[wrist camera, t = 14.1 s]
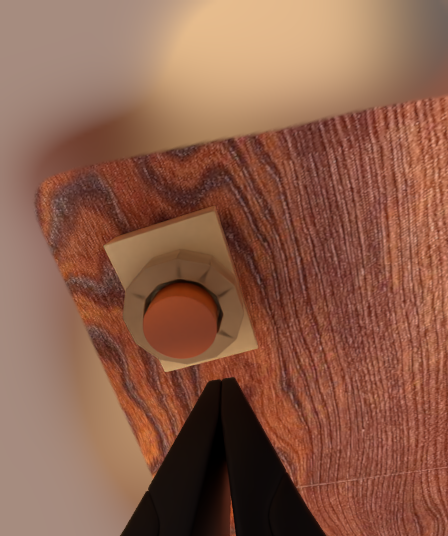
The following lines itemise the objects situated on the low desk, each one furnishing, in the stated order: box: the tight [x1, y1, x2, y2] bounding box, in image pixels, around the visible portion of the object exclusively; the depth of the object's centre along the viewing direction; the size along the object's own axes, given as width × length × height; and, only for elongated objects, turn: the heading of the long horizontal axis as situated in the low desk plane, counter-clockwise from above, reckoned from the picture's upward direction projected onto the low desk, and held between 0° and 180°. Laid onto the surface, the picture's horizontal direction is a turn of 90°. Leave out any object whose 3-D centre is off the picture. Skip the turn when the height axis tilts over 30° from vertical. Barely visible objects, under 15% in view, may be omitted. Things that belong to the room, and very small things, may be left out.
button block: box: [103, 205, 258, 372], centre depth 18 cm, size 10×7×4 cm
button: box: [143, 282, 217, 359], centre depth 15 cm, size 4×4×2 cm
